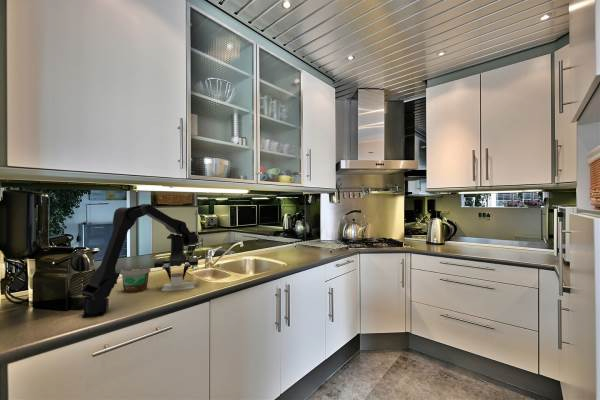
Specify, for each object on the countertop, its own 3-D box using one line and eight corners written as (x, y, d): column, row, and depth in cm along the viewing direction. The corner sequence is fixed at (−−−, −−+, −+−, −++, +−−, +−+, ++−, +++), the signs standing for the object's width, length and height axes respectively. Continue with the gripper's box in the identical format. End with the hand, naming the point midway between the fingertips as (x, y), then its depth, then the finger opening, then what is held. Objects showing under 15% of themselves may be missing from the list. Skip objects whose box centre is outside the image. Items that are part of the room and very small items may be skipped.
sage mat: (161, 291, 125) (161, 290, 125) (164, 285, 134) (164, 283, 134) (194, 288, 129) (194, 287, 129) (195, 282, 139) (195, 281, 139)
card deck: (170, 286, 126) (170, 277, 126) (171, 282, 133) (171, 273, 133) (182, 285, 128) (182, 276, 128) (182, 281, 135) (182, 272, 135)
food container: (115, 294, 120) (115, 271, 120) (120, 290, 126) (120, 268, 126) (146, 292, 123) (147, 270, 123) (150, 288, 129) (150, 267, 129)
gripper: (152, 251, 120) (151, 287, 120) (198, 249, 126) (197, 283, 126) (156, 247, 131) (156, 280, 130) (198, 245, 137) (197, 277, 137)
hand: (176, 280), depth 131 cm, fingers closed on card deck, 5 cm apart
